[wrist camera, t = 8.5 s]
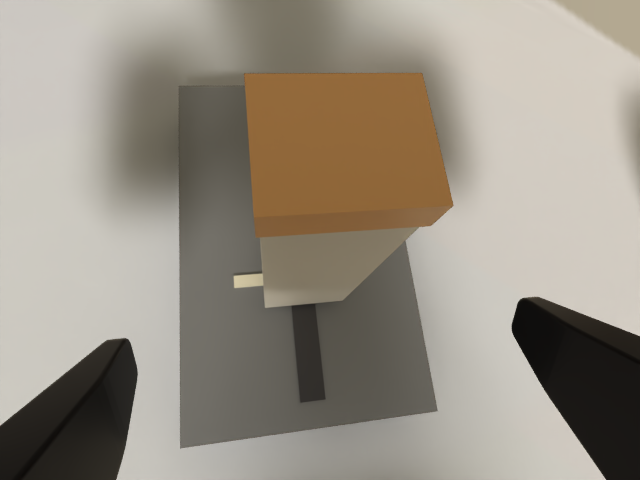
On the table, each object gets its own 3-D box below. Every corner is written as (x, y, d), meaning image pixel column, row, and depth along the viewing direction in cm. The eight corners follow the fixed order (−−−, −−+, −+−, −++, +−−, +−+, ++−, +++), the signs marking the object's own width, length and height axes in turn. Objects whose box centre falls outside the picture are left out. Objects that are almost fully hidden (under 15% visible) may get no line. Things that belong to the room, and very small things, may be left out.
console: (416, 406, 18) (438, 411, 16) (192, 437, 17) (179, 448, 14) (365, 113, 23) (376, 82, 21) (188, 116, 21) (178, 84, 19)
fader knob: (345, 302, 16) (453, 205, 7) (262, 310, 16) (253, 217, 6) (336, 239, 17) (421, 73, 8) (258, 244, 17) (244, 73, 7)
